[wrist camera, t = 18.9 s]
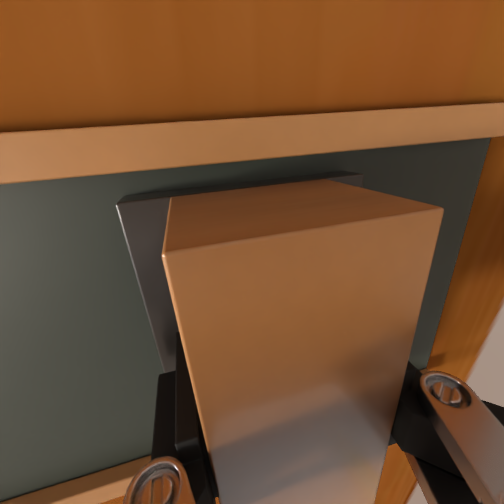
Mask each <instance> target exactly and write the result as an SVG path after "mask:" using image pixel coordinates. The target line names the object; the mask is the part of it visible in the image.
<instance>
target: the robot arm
mask: <svg viewBox="0 0 504 504" xmlns="http://www.w3.org/2000/svg"><path fill="white" fill-rule="evenodd" d="M395 443H397V444H398V445H399V447H400V448H401V450H402V451H404V452H405V455H406V457H407V459H408V461H409V463H410V466H411V468H412V470H413V472H414V474H415V476H416V479H417V481H418V483H419V485H420V487H421V489H422V491H423V494H424V496H425V498H426V500H427V502H428V504H504V407H501V406H498V405H495V404H492V403H489V402H486V401H483V400H481V399H480V398H479V397H478V396H477V395H476V394H475V392H473V390H472V389H471V388H470V387H469V386H468V385H467V384H466V383H465V382H463V381H462V380H460V379H459V378H457V377H455V376H453V375H451V374H448V373H445V372H441V371H428V372H425V373H424V374H422V373H421V372H420V371H419V370H418V369H417V368H416V367H415V366H414V365H413V364H412V363H411V362H410V361H408V364H407V368H406V373H405V377H404V381H403V385H402V389H401V393H400V398H399V402H398V406H397V410H396V414H395V418H394V423H393V427H392V431H391V435H390V439H389V443H388V446H389V445H392V444H395ZM215 497H218V494H217V490H216V485H215V481H214V477H213V473H212V468H211V464H210V460H209V456H208V451H207V447H206V443H205V439H204V434H203V430H202V426H201V422H200V417H199V413H198V409H197V405H196V400H195V396H194V392H193V388H192V384H191V379H190V375H189V371H188V367H187V362H186V358H185V354H184V350H183V345H182V341H181V337H180V333H179V331H178V332H176V370H175V371H171V372H167V373H163V374H159V376H158V384H157V395H156V407H155V418H154V429H153V441H152V452H151V461H149V462H148V463H147V464H145V465H144V466H143V467H142V468H141V469H140V470H139V471H138V472H137V473H136V475H135V476H134V477H133V478H132V480H131V482H130V484H129V486H128V488H127V490H126V494H125V497H124V500H123V504H216V502H215Z"/></svg>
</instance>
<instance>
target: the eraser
mask: <svg viewBox="0 0 504 504" xmlns="http://www.w3.org/2000/svg"><path fill="white" fill-rule="evenodd" d="M363 181H364V175H363V174H361V173H355V172H349V171H338V172H330V173H321V174H312V175H303V176H294V177H285V178H277V179H268V180H259V181H250V182H241V183H232V184H224V185H215V186H206V187H197V188H188V189H179V190H170V191H162V192H153V193H144V194H135V195H126V196H123V197H122V198H121V199H120V200H119V201H118V202H117V203H116V209H117V212H118V216H119V219H120V223H121V226H122V230H123V233H124V236H125V240H126V243H127V247H128V250H129V254H130V257H131V261H132V264H133V267H134V271H135V274H136V278H137V281H138V285H139V288H140V292H141V295H142V298H143V302H144V305H145V309H146V312H147V316H148V319H149V323H150V326H151V329H152V333H153V336H154V340H155V343H156V347H157V350H158V354H159V357H160V360H161V364H162V367H163V371H164V373H167V372H171V371H175V370H176V332H178V331H179V333H180V337H181V341H182V345H183V350H184V354H185V358H186V362H187V367H188V371H189V375H190V379H191V384H192V388H193V392H194V396H195V400H196V405H197V409H198V413H199V417H200V422H201V426H202V430H203V434H204V439H205V443H206V447H207V451H208V456H209V460H210V464H211V468H212V473H213V477H214V481H215V485H216V490H217V494H218V498H219V502H220V504H374V502H375V498H376V494H377V489H378V485H379V481H380V477H381V473H382V469H383V464H384V460H385V456H386V452H387V448H388V443H389V439H390V435H391V431H392V427H393V423H394V418H395V414H396V410H397V406H398V402H399V398H400V393H401V389H402V385H403V381H404V377H405V373H406V368H407V364H408V360H409V356H410V352H411V347H412V343H413V339H414V335H415V331H416V327H417V322H418V318H419V314H420V310H421V306H422V302H423V297H424V293H425V289H426V285H427V281H428V276H429V272H430V268H431V264H432V260H433V256H434V251H435V247H436V243H437V239H438V235H439V231H440V226H441V222H442V218H443V214H444V209H443V208H442V207H439V206H435V205H431V204H427V203H423V202H418V201H414V200H410V199H406V198H402V197H398V196H394V195H389V194H385V193H381V192H377V191H373V190H369V189H365V188H363Z"/></svg>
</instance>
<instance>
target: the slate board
mask: <svg viewBox="0 0 504 504" xmlns="http://www.w3.org/2000/svg"><path fill="white" fill-rule="evenodd" d="M501 136H504V102H501V103H485V104H468V105H451V106H435V107H418V108H402V109H385V110H368V111H352V112H335V113H318V114H302V115H285V116H268V117H252V118H235V119H218V120H202V121H185V122H169V123H152V124H135V125H119V126H102V127H85V128H69V129H52V130H35V131H19V132H2V133H0V504H99V503H102V502H105V501H108V500H111V499H114V498H117V497H120V496H123V495H125V494H126V490H127V488H128V486H129V484H130V482H131V480H132V478H133V477H134V476H135V475H136V473H137V472H138V471H139V470H140V469H141V468H142V467H143V466H144V465H145V464H147V463H148V462H149V461H151V452H152V441H153V429H154V418H155V407H156V395H157V384H158V376H159V374H163V373H164V371H163V367H162V364H161V360H160V357H159V354H158V350H157V347H156V343H155V340H154V336H153V333H152V329H151V326H150V323H149V319H148V316H147V312H146V309H145V305H144V302H143V298H142V295H141V292H140V288H139V285H138V281H137V278H136V274H135V271H134V267H133V264H132V261H131V257H130V254H129V250H128V247H127V243H126V240H125V236H124V233H123V230H122V226H121V223H120V219H119V216H118V212H117V209H116V203H117V202H118V201H119V200H120V199H121V198H122V197H123V196H126V195H135V194H144V193H153V192H162V191H170V190H179V189H188V188H197V187H206V186H215V185H224V184H232V183H241V182H250V181H259V180H268V179H277V178H285V177H294V176H303V175H312V174H321V173H330V172H338V171H349V172H355V173H361V174H363V175H364V181H363V188H365V189H369V190H373V191H377V192H381V193H385V194H389V195H394V196H398V197H402V198H406V199H410V200H414V201H418V202H423V203H427V204H431V205H435V206H439V207H442V208H443V209H444V214H443V218H442V222H441V226H440V231H439V235H438V239H437V243H436V247H435V251H434V256H433V260H432V264H431V268H430V272H429V276H428V281H427V285H426V289H425V293H424V297H423V302H422V306H421V310H420V314H419V318H418V322H417V327H416V331H415V335H414V339H413V343H412V347H411V352H410V356H409V360H408V361H410V362H411V363H412V364H413V365H414V366H415V367H416V368H417V369H418V370H419V371H420V372H421V373H422V374H424V373H425V372H428V371H429V370H428V369H427V368H426V367H427V363H428V360H429V356H430V353H431V349H432V346H433V342H434V338H435V335H436V331H437V328H438V324H439V321H440V317H441V314H442V310H443V306H444V303H445V299H446V296H447V292H448V289H449V285H450V282H451V278H452V274H453V271H454V267H455V264H456V260H457V257H458V253H459V250H460V246H461V243H462V239H463V235H464V232H465V228H466V225H467V221H468V218H469V214H470V211H471V207H472V203H473V200H474V196H475V193H476V189H477V186H478V182H479V179H480V175H481V171H482V168H483V164H484V161H485V157H486V154H487V150H488V147H489V143H490V139H491V137H501Z"/></svg>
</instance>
